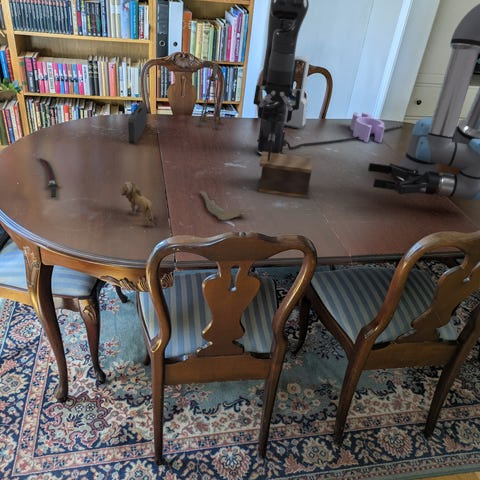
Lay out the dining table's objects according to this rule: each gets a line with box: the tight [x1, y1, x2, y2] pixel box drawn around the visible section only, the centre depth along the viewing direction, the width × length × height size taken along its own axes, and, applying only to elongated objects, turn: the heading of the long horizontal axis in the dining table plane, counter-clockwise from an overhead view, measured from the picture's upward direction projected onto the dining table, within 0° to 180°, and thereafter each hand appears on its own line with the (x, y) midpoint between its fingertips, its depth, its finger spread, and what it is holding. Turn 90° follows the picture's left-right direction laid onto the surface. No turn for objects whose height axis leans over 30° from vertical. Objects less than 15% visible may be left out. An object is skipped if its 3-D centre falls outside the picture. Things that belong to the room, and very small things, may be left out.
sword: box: [40, 158, 59, 198], centre depth 151 cm, size 31×3×1 cm, turn 26°
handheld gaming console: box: [127, 102, 148, 144], centre depth 187 cm, size 23×3×10 cm, turn 178°
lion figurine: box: [119, 181, 159, 227], centre depth 134 cm, size 15×5×9 cm, turn 50°
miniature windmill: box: [198, 54, 222, 130], centre depth 199 cm, size 9×8×30 cm
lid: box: [259, 134, 313, 174], centre depth 154 cm, size 17×10×9 cm, turn 83°
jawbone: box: [199, 190, 251, 222], centre depth 143 cm, size 9×20×2 cm, turn 50°
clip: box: [349, 112, 386, 143], centre depth 214 cm, size 20×12×7 cm, turn 11°
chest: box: [258, 167, 312, 199], centre depth 158 cm, size 16×10×9 cm, turn 83°
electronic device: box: [284, 55, 311, 130], centre depth 209 cm, size 12×8×30 cm, turn 71°
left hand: (274, 119), depth 149 cm, fingers open, 8 cm apart
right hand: (371, 174), depth 154 cm, fingers open, 13 cm apart
